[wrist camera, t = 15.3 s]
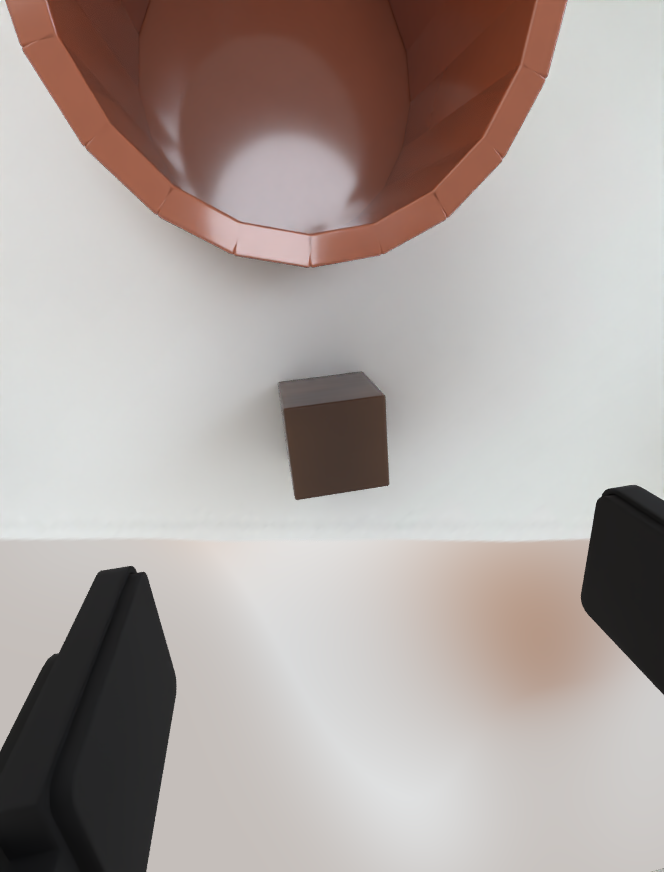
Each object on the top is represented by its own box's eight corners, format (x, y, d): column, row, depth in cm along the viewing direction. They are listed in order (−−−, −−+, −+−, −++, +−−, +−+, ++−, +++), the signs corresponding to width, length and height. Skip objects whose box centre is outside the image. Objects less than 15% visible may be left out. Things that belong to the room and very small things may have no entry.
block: (362, 371, 23) (385, 395, 19) (367, 448, 25) (389, 486, 21) (277, 381, 23) (282, 409, 19) (288, 460, 25) (295, 501, 21)
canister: (478, 110, 20) (670, -15, 11) (287, 317, 22) (311, 362, 13) (268, -206, 15) (289, -882, 6) (52, 90, 17) (-175, -96, 8)
